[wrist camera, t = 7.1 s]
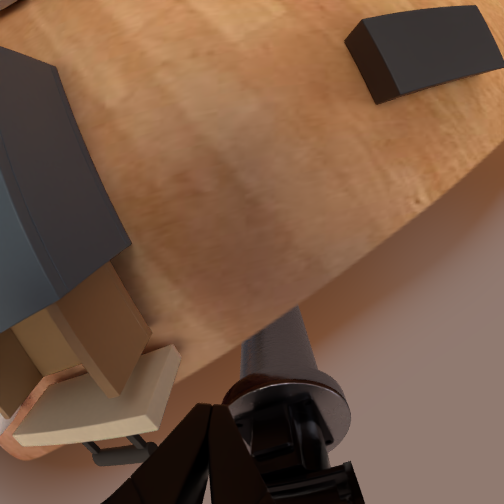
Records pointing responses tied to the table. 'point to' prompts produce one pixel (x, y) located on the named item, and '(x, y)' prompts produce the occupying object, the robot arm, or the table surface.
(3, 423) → the figurine
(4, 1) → the mug
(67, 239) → the cabinet
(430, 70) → the black rectangular block
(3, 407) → the drawer
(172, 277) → the table surface
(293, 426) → the robot arm
